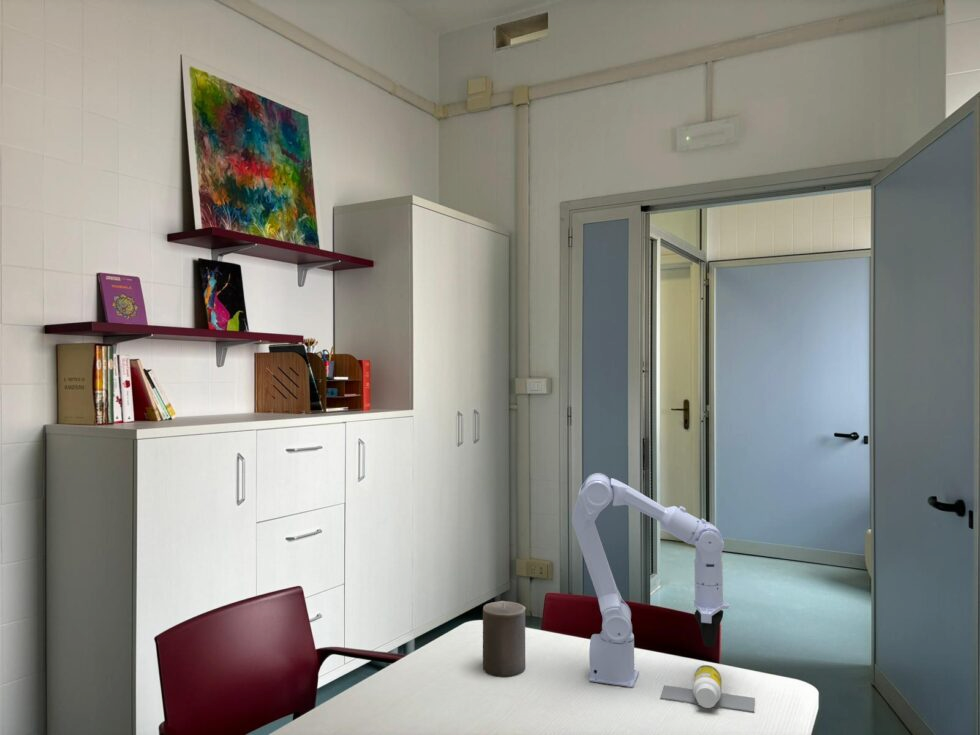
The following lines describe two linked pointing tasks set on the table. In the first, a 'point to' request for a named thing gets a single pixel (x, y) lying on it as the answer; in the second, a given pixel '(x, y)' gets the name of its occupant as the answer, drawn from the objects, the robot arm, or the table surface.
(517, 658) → the pillar candle
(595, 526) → the robot arm
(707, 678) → the supplement bottle
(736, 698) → the mat
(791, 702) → the table surface
